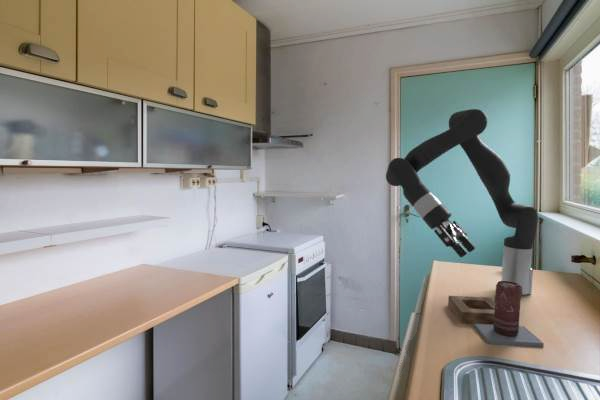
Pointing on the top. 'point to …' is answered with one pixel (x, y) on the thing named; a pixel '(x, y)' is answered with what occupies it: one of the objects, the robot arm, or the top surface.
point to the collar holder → (473, 309)
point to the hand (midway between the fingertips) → (468, 253)
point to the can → (507, 308)
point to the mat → (521, 338)
